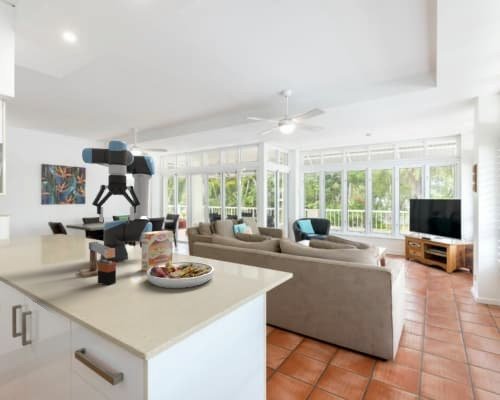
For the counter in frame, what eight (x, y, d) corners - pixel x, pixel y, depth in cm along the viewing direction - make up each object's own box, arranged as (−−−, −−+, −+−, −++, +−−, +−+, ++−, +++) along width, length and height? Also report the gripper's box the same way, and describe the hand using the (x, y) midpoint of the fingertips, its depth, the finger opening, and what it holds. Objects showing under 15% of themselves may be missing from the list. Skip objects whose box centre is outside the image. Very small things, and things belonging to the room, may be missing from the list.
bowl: (191, 268, 150) (191, 253, 150) (226, 280, 129) (226, 264, 129) (135, 279, 129) (136, 262, 129) (167, 296, 108) (167, 276, 108)
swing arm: (96, 248, 139) (96, 241, 139) (115, 256, 120) (115, 248, 120) (87, 249, 136) (87, 241, 136) (105, 258, 117) (105, 249, 117)
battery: (106, 280, 126) (106, 258, 125) (116, 282, 123) (116, 260, 122) (97, 283, 122) (97, 260, 122) (107, 285, 119) (107, 262, 118)
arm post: (101, 269, 143) (101, 246, 143) (107, 273, 136) (107, 249, 136) (79, 273, 136) (79, 249, 136) (84, 277, 129) (84, 252, 129)
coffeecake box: (148, 272, 140) (148, 233, 140) (140, 269, 144) (141, 232, 144) (173, 266, 152) (173, 231, 152) (165, 264, 156) (165, 230, 156)
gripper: (140, 176, 139) (140, 219, 139) (84, 173, 121) (84, 221, 121) (147, 176, 133) (146, 220, 134) (89, 172, 116) (89, 223, 116)
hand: (117, 221), depth 128 cm, fingers open, 13 cm apart
